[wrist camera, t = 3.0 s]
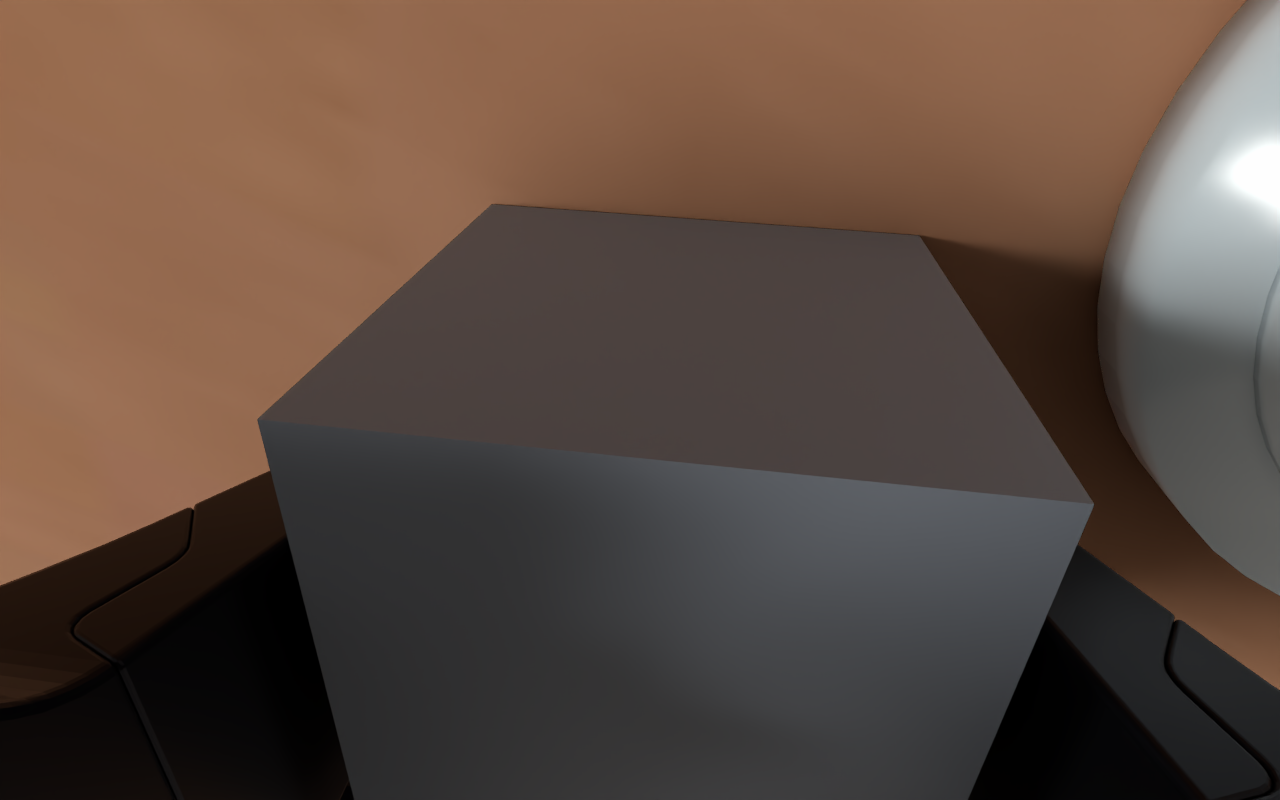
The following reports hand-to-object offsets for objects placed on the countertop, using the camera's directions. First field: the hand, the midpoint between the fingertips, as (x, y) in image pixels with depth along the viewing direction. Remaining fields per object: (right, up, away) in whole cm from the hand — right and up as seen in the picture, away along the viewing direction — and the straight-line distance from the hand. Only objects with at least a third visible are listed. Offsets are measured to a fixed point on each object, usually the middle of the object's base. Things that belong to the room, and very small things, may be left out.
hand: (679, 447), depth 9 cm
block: (0, +1, +1) cm, 1 cm away
